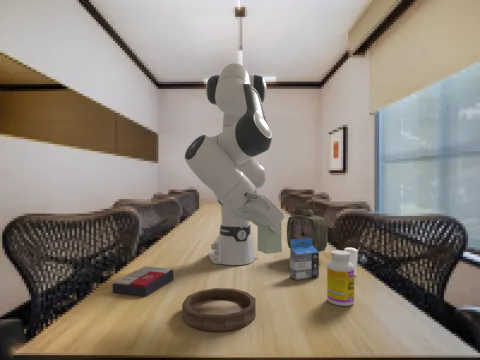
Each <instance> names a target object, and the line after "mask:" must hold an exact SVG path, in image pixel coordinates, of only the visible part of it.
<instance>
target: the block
mask: <svg viewBox="0 0 480 360" xmlns="http://www.w3.org/2000/svg"><path fill="white" fill-rule="evenodd" d="M278 226H279V227H280V229H281V230H280V232H279V233H278V234H275V233H273V232H272V231H271V230H270V227H269V226H267V225H264V224H259V223H258V226H257V251H258V252H261V253H263V254H266V255H268V254H276V253H282V249H283V248H282V247H283V246H282V244H283V243H282V239H283V238H282V233H283V232H282V222H281V223H280V224H279V225H278Z"/></svg>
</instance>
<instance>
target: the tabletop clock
mask: <svg viewBox="0 0 480 360" xmlns="http://www.w3.org/2000/svg"><path fill="white" fill-rule="evenodd" d="M304 200H309V201H311V202H312V205H311V206H309V204H306V205H303V204H302V202H303V201H304ZM299 204H300V206H301V207H302V208H304V209H302V210H301V212H300V215H291V216H289V217H288V219H287V223H286V241H287V246H288V248H289V249H290V240H292V239H306V238H312V245H313V247H314V248H315V249H316V250H317V251H318V252H319V253H320V252H324V251H326V248H327V244H328V235H329V234H328V232H329V231H328V223H327V220H326V219H325V218H324V217H322V216H319V215H314V211H313V210H312V208H314V206H315V201H314V199H313V198H311V197H303V198H301V200H300V203H299ZM298 244H305V242H302V241H301V242H300V243H298Z"/></svg>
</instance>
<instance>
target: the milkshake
mask: <svg viewBox="0 0 480 360" xmlns="http://www.w3.org/2000/svg"><path fill="white" fill-rule="evenodd" d="M360 248H361V245H360V246H359V247H358V249H356V248H355V247H345V248H344V249H343V251H347V252H349V253H350V259H349V262H351V263H352V264H353V266H354V277H356V276H357V270H358V269H357V267H358V266H357V265H358V256H359V250H360Z"/></svg>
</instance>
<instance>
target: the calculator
mask: <svg viewBox="0 0 480 360" xmlns="http://www.w3.org/2000/svg"><path fill="white" fill-rule="evenodd" d="M173 281H174V270H173V269H172V268H168V267H167V268H166V267H157V266H156V267H155V266H148V265H147V266H146V265H144V266H142V267H140V268H138V269H135V270H133V271H132V272H130V273H128V274H127V275H124V276H122V277H121V278H119V279H117V280H115V281H114V282H113V283H112V294H118V295H126V296H133V297H140V298H148V297H149V296H150V295H151V294H153V293H155V292H156V291H158V290H159V289H160V288H162V287H164V286H165V285H168V284H170V283H171V282H173Z"/></svg>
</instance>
